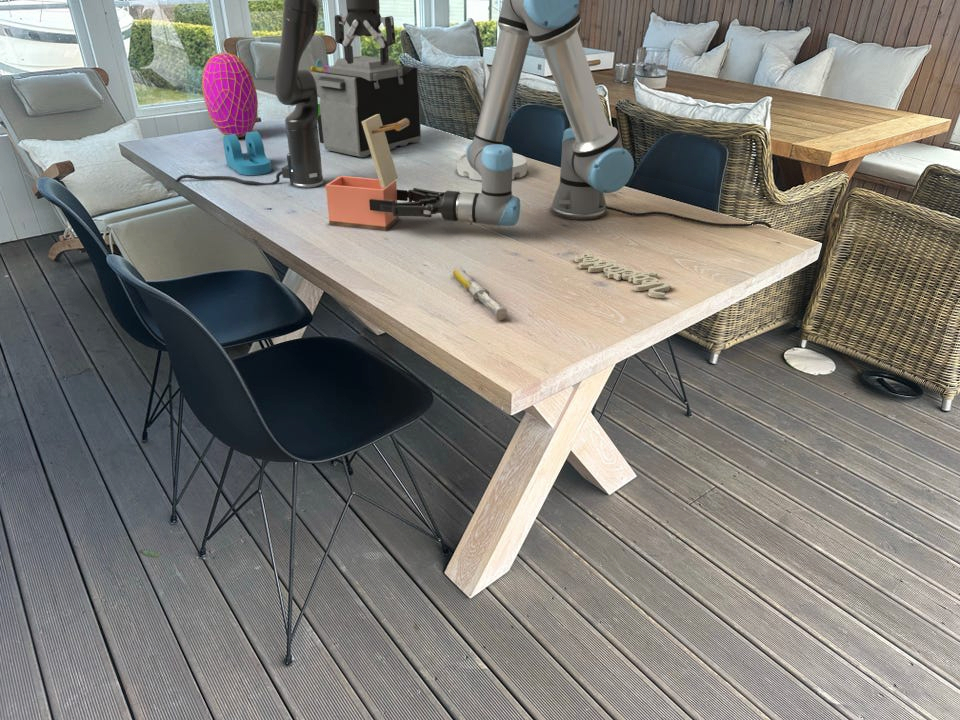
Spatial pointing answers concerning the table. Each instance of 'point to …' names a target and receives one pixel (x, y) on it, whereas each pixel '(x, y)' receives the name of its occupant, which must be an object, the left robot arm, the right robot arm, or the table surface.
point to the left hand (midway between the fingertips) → (366, 64)
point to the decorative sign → (625, 274)
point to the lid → (382, 147)
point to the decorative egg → (230, 94)
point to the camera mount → (246, 154)
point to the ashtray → (468, 171)
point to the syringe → (479, 293)
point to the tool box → (366, 103)
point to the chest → (359, 203)
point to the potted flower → (319, 68)
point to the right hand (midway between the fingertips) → (377, 199)
